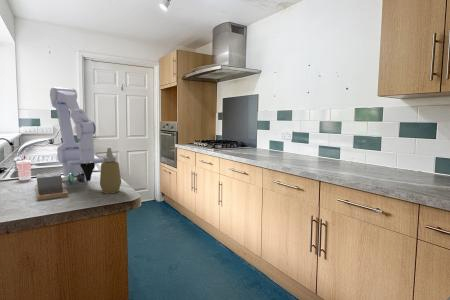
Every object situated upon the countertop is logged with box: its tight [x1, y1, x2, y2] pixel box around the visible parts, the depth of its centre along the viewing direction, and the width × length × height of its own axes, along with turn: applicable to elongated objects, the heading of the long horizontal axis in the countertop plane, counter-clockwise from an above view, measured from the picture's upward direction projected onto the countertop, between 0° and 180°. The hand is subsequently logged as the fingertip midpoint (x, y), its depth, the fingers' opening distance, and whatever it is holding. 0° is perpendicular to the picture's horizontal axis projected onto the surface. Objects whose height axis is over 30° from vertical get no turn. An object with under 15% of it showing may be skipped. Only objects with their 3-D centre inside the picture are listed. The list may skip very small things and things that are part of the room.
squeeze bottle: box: [99, 147, 122, 194], centre depth 109 cm, size 8×8×18 cm
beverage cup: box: [15, 150, 32, 181], centre depth 133 cm, size 6×6×14 cm
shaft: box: [62, 173, 86, 186], centre depth 112 cm, size 15×5×5 cm, turn 127°
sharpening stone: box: [35, 172, 69, 202], centre depth 109 cm, size 10×22×7 cm, turn 37°
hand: (88, 180), depth 117 cm, fingers closed
